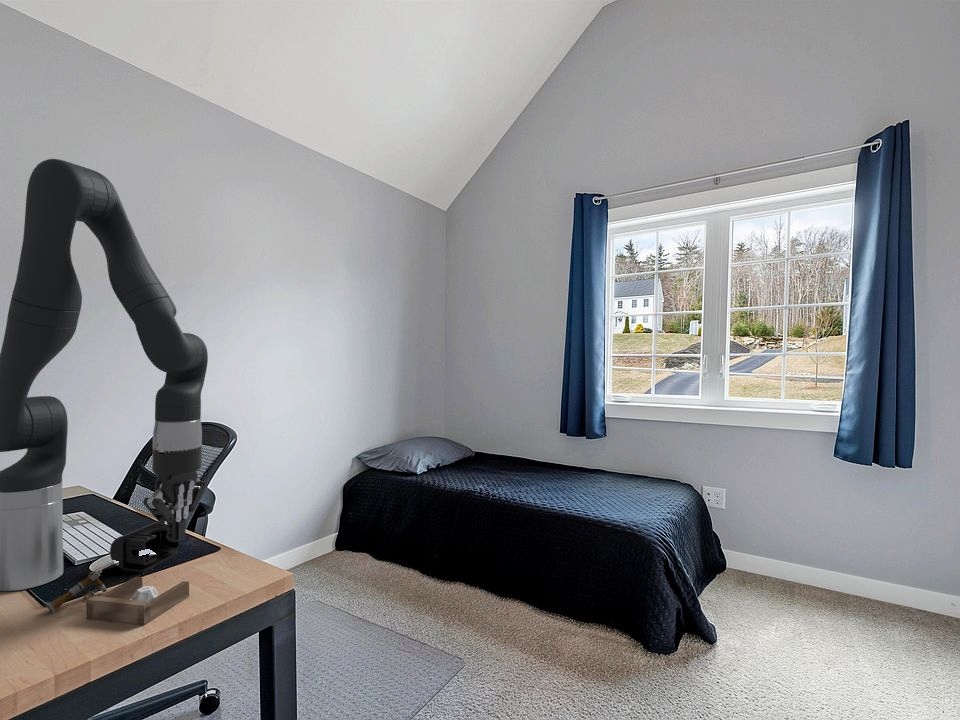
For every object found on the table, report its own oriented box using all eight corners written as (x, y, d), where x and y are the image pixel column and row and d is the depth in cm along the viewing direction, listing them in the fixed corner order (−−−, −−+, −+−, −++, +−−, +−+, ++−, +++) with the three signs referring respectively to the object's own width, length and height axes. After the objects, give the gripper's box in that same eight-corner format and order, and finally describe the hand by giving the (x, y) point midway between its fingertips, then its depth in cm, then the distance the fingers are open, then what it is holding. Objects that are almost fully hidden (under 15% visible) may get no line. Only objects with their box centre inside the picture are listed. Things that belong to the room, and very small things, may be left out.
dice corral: (86, 618, 79) (86, 599, 79) (136, 590, 88) (136, 573, 88) (144, 625, 77) (144, 605, 77) (189, 596, 86) (189, 578, 86)
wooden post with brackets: (114, 587, 88) (101, 567, 86) (63, 625, 81) (48, 605, 80) (109, 584, 89) (96, 565, 87) (58, 622, 82) (43, 602, 81)
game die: (135, 603, 84) (135, 585, 84) (161, 600, 85) (161, 582, 85) (128, 614, 80) (127, 595, 80) (154, 610, 82) (154, 591, 82)
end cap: (152, 550, 106) (152, 518, 106) (182, 553, 105) (181, 520, 104) (109, 571, 96) (108, 535, 96) (141, 574, 95) (141, 538, 95)
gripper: (185, 436, 97) (184, 525, 98) (128, 450, 84) (126, 553, 85) (221, 439, 96) (219, 529, 97) (168, 453, 83) (166, 557, 84)
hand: (176, 540), depth 91 cm, fingers closed
